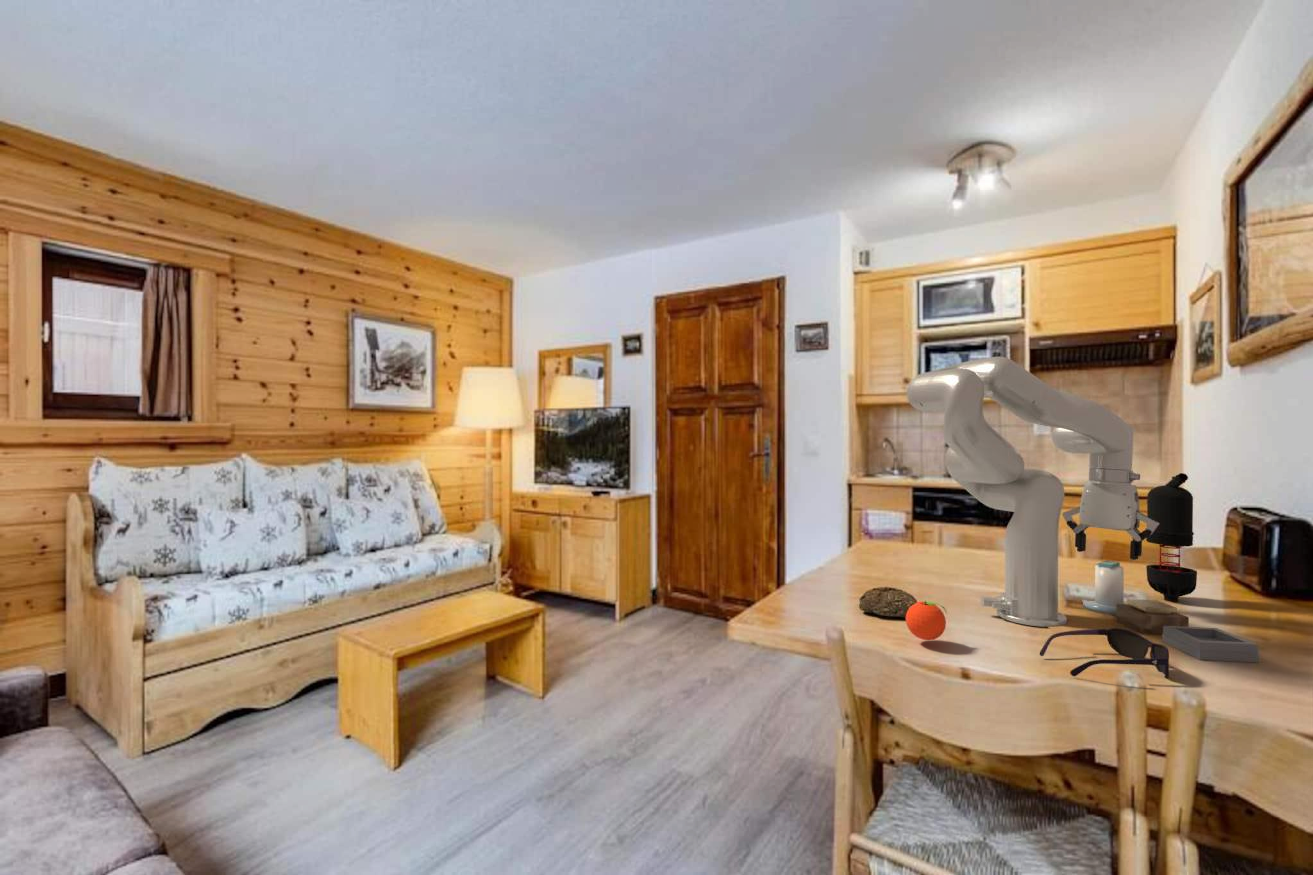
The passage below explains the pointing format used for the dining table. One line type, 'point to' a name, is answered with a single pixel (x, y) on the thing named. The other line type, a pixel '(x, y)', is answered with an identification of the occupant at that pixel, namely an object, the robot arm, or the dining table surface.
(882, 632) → the dining table surface
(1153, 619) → the button housing
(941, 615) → the clementine
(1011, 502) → the robot arm
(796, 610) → the dining table surface
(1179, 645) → the socket
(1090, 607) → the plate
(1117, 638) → the sunglasses
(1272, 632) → the dining table surface
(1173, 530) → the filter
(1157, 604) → the button
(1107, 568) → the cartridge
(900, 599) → the dark brown domed lump
